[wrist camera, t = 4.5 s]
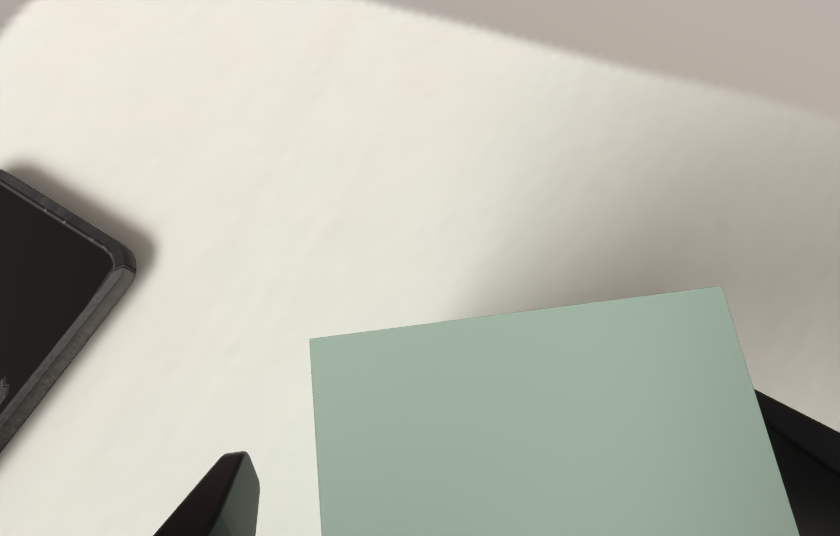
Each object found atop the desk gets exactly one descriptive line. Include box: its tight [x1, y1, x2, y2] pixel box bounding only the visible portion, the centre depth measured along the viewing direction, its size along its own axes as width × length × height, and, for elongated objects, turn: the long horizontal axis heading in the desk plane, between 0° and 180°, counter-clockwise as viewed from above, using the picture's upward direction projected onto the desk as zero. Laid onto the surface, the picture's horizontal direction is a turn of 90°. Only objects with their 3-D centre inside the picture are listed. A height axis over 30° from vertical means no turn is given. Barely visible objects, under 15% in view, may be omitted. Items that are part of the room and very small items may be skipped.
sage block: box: [309, 286, 799, 536], centre depth 10 cm, size 4×4×12 cm
